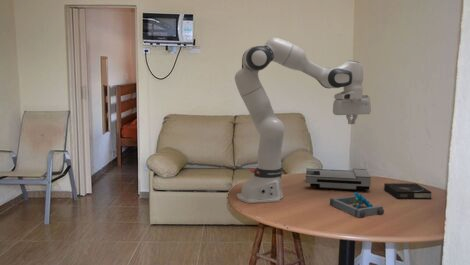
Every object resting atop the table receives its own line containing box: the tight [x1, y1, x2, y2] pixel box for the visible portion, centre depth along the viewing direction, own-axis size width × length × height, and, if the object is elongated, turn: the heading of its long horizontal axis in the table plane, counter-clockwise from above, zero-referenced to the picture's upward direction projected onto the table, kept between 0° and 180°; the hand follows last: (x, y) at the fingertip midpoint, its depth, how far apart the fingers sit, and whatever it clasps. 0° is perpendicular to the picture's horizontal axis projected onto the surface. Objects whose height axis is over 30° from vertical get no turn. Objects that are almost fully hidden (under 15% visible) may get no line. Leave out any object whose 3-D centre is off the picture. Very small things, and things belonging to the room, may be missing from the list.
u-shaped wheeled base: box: [329, 195, 385, 219], centre depth 187 cm, size 14×20×3 cm, turn 24°
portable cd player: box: [383, 182, 433, 200], centre depth 212 cm, size 16×17×4 cm
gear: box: [352, 192, 374, 209], centre depth 188 cm, size 11×6×10 cm
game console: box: [305, 168, 372, 193], centre depth 227 cm, size 21×32×8 cm, turn 80°
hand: (351, 124), depth 206 cm, fingers closed
